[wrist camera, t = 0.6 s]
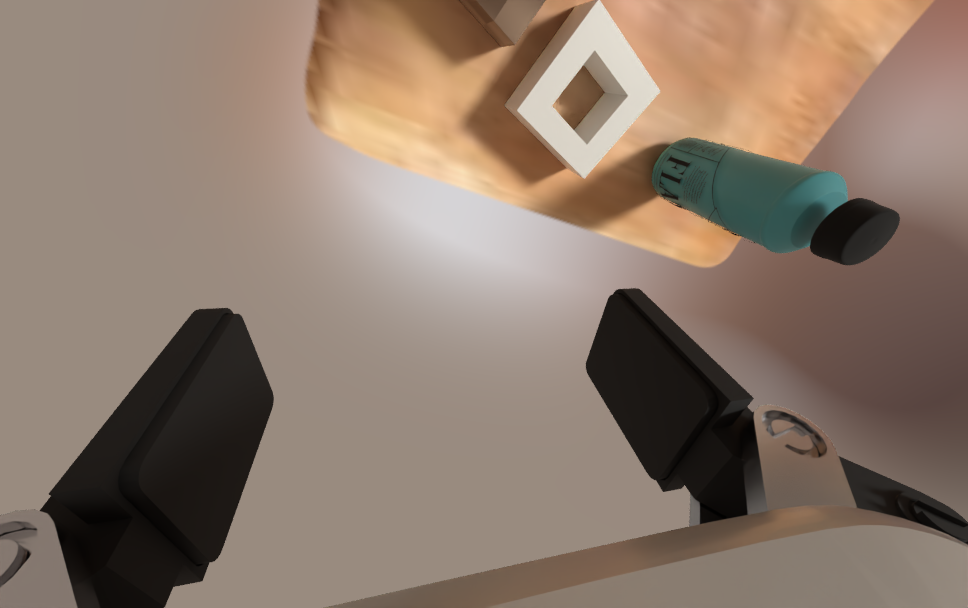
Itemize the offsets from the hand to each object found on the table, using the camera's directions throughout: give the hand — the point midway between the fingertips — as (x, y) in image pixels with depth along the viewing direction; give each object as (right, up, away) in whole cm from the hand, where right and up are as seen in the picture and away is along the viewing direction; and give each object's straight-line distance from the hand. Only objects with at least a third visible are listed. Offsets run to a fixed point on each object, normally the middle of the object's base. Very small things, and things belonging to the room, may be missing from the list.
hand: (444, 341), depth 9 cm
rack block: (+9, +20, +22) cm, 31 cm away
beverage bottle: (+21, +16, +29) cm, 39 cm away
